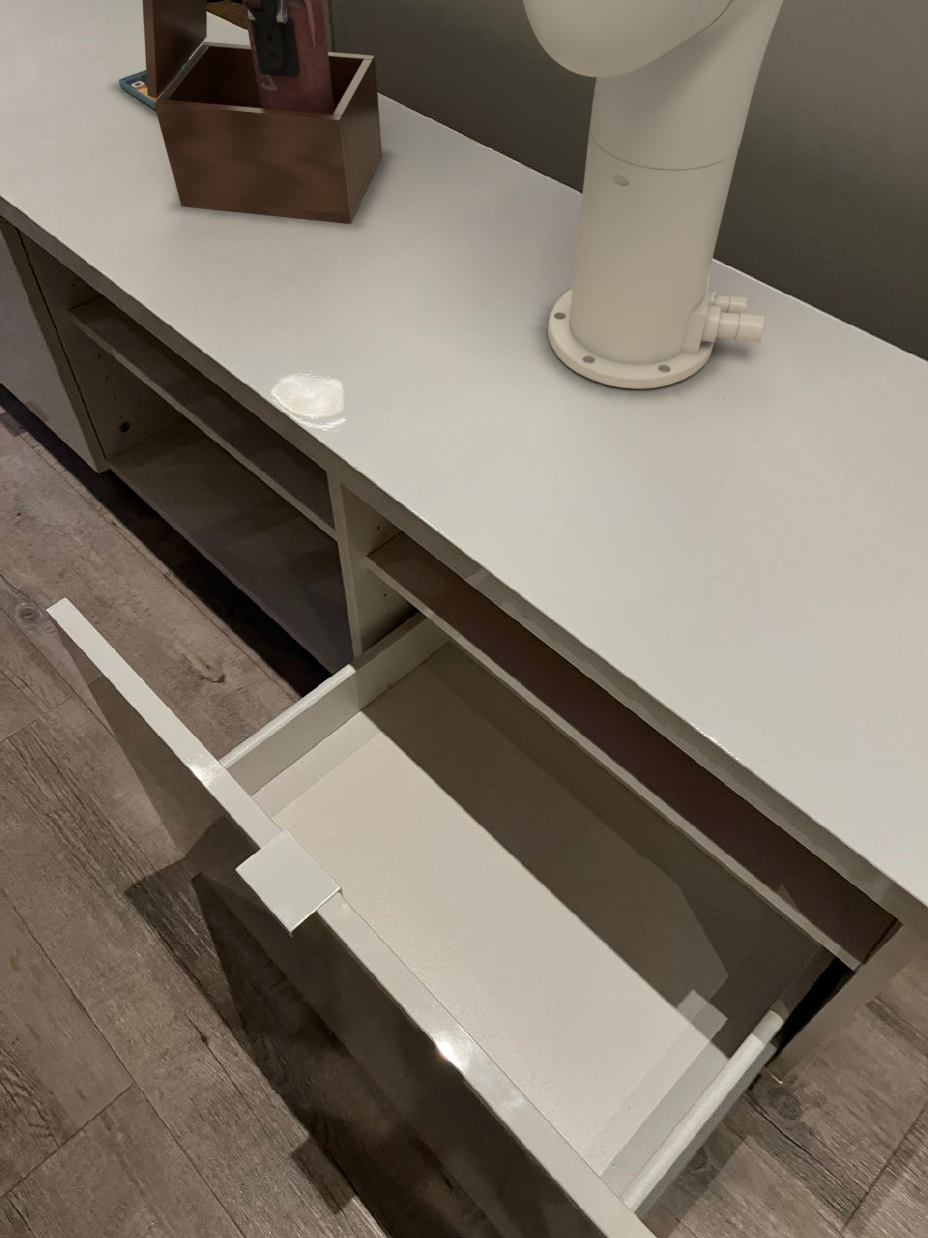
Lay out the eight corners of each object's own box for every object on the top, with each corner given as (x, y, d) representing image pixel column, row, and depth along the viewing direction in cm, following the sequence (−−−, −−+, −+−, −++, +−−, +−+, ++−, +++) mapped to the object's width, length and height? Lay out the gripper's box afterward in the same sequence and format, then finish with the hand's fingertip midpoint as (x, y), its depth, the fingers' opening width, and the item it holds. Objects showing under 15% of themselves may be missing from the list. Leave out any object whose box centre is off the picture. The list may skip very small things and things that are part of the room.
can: (314, 186, 80) (288, 5, 69) (257, 166, 82) (223, -14, 71) (355, 155, 83) (337, -24, 72) (300, 136, 85) (274, -41, 74)
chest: (382, 156, 87) (374, 55, 80) (350, 223, 80) (339, 120, 73) (225, 140, 89) (203, 40, 82) (181, 205, 82) (153, 102, 75)
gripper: (264, -201, 55) (307, 109, 70) (340, -270, 65) (364, 14, 80) (146, -207, 56) (213, 100, 71) (239, -274, 66) (281, 7, 81)
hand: (292, 52), depth 75 cm, fingers closed on can, 6 cm apart
